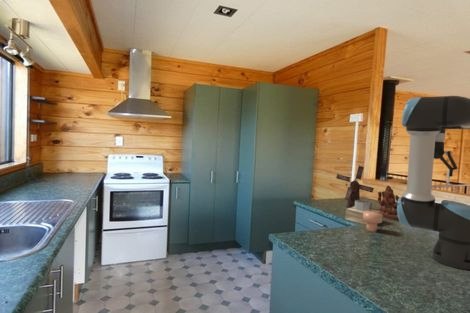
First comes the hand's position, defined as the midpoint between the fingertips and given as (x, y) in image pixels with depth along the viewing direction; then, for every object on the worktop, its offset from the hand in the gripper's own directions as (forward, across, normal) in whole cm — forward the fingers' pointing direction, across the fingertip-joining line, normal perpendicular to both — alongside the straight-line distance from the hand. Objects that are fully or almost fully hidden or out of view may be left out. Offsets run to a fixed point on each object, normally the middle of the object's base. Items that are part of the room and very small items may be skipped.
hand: (432, 180), depth 153 cm
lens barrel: (+21, +30, +14) cm, 39 cm away
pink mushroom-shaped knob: (+27, +18, +28) cm, 43 cm away
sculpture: (+26, +22, -8) cm, 35 cm away
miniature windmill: (+26, +46, -10) cm, 54 cm away
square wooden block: (+26, +30, +14) cm, 42 cm away
